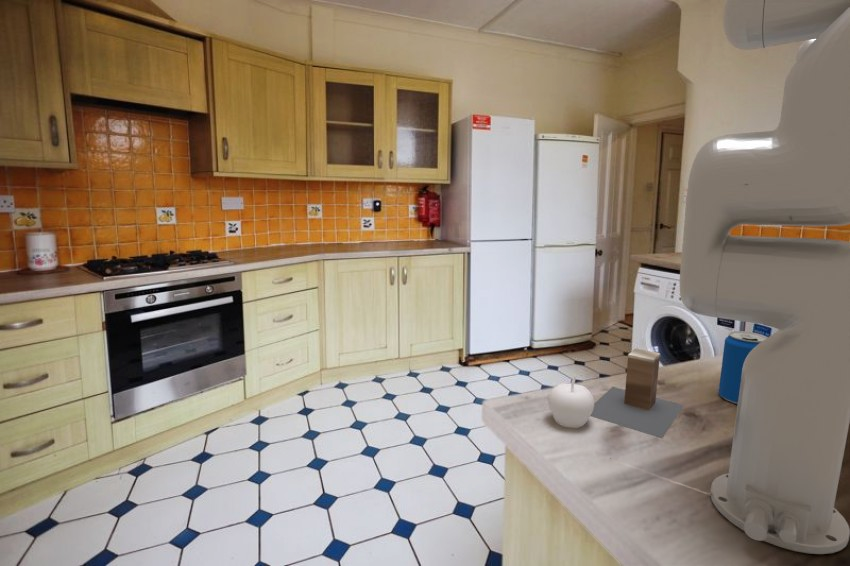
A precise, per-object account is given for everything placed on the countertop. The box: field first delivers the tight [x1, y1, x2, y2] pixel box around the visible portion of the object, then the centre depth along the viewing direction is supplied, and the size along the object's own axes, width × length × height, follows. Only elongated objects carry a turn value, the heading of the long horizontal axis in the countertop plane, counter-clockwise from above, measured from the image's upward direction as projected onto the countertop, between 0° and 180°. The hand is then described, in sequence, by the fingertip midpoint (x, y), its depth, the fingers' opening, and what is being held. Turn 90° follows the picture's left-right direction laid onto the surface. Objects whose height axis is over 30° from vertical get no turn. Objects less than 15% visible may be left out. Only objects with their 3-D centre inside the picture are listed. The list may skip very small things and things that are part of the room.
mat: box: [590, 386, 685, 439], centre depth 77 cm, size 14×12×1 cm
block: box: [624, 348, 661, 411], centre depth 78 cm, size 4×4×9 cm
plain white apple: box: [547, 375, 595, 429], centre depth 73 cm, size 7×7×8 cm
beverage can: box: [717, 330, 768, 405], centre depth 80 cm, size 6×6×12 cm
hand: (819, 220), depth 80 cm, fingers open, 9 cm apart
